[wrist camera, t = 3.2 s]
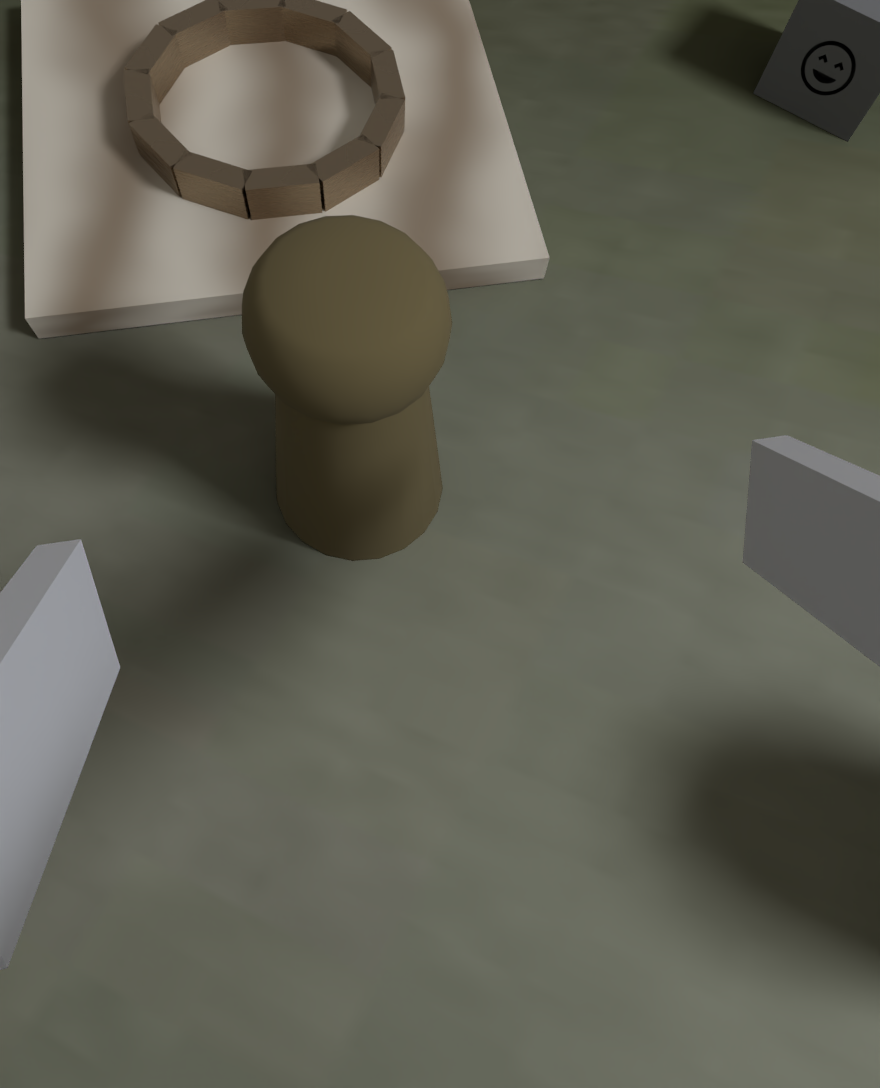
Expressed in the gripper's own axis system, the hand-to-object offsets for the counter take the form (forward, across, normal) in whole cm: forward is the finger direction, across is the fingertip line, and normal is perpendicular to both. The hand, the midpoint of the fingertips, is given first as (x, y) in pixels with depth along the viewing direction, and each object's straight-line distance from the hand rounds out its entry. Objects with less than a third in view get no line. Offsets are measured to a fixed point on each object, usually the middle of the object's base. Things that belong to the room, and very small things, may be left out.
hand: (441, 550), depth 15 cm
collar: (+24, -2, +10) cm, 26 cm away
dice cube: (+26, +24, +9) cm, 36 cm away
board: (+25, -2, +9) cm, 27 cm away
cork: (+13, -1, -3) cm, 14 cm away
